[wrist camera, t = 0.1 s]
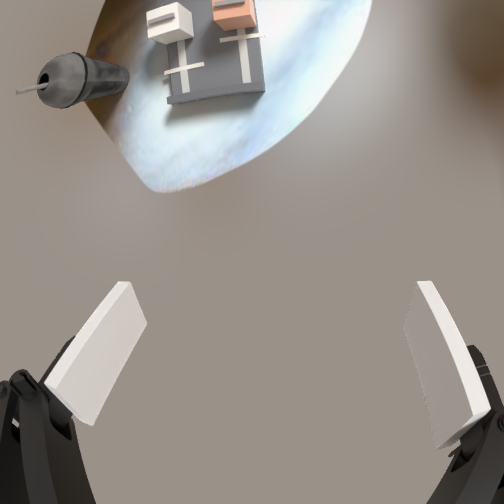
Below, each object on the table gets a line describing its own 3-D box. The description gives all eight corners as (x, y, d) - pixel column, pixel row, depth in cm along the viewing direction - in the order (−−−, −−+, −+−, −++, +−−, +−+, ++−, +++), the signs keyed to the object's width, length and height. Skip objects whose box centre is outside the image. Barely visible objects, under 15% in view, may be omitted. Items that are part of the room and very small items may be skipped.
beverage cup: (121, 49, 29) (19, 39, 12) (145, 78, 31) (41, 76, 14) (92, 82, 32) (-9, 94, 14) (114, 111, 34) (11, 134, 17)
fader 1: (163, 20, 25) (144, 10, 20) (191, 12, 24) (175, 0, 19) (165, 44, 27) (145, 37, 22) (193, 37, 26) (177, 27, 21)
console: (163, 4, 25) (152, -3, 22) (258, -16, 23) (254, -26, 20) (172, 105, 33) (162, 105, 30) (271, 90, 31) (269, 89, 28)
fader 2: (221, 6, 24) (209, -9, 19) (253, 1, 23) (246, -15, 18) (224, 30, 26) (212, 19, 21) (256, 26, 25) (249, 12, 20)
